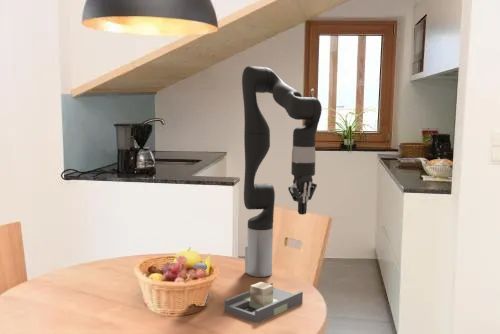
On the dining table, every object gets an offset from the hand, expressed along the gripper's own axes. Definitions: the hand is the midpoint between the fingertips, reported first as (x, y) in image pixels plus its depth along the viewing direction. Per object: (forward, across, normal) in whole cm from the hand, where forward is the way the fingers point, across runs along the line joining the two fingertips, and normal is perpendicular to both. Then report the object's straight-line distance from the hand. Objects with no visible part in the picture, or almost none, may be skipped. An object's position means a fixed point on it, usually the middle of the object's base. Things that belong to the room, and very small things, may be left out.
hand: (302, 213), depth 175 cm
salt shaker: (+27, +28, -18) cm, 43 cm away
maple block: (+25, +17, -2) cm, 30 cm away
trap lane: (+27, +16, -2) cm, 31 cm away
